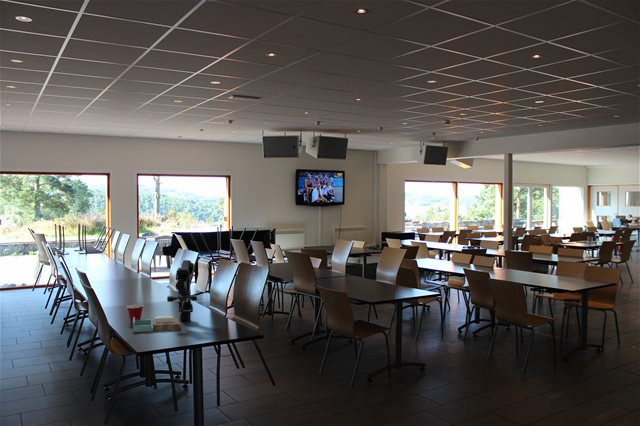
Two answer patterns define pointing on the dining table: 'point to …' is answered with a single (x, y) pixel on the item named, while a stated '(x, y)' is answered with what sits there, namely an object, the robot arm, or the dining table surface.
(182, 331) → the dining table surface
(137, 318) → the plastic cup
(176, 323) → the walnut plate
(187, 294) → the robot arm
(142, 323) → the box
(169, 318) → the tile
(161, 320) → the tile
